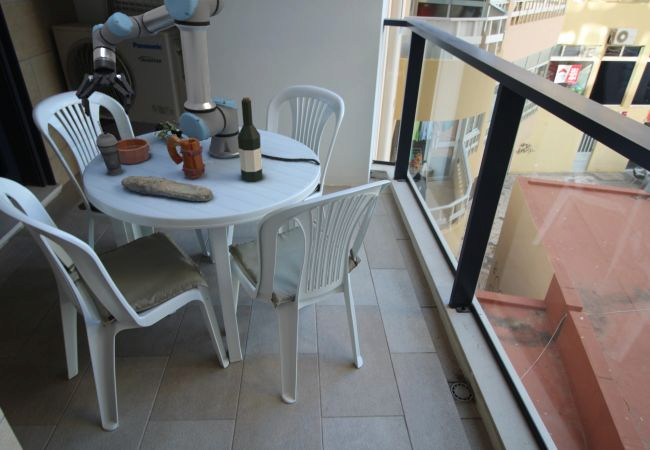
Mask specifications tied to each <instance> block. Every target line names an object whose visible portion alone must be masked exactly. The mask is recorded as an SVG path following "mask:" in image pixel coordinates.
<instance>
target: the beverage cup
mask: <svg viewBox="0 0 650 450" xmlns="http://www.w3.org/2000/svg"><path fill="white" fill-rule="evenodd" d="M96 122H97V124H98V127H99V130H100V132H101V133H100V134H98V136H97V137H96V140H95V141H96V142H95V143H96V144H95V145H96V147H97V149H98V151H99V153H100V155H101V158H102V160H103V162H104V165H105V168H106V170H107V173H108V175H110V176H115V175H116V176H117V175H120V174H121V173H122V172H123V169H122V164H121V163H120V157H119V151H118V142H117V141H118V139H117V138H116V136H115V135H114V134H112V133H109V132H104V131H103V128H102V126H101V122H100V121H99V120H97V121H96Z"/></svg>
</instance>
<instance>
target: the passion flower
mask: <svg viewBox="0 0 650 450" xmlns="http://www.w3.org/2000/svg"><path fill="white" fill-rule="evenodd" d="M160 126H162V131H161V130H160V132H159V133H158V132H157V131H155V132H154V133H153V136H154V137H156V136H157V138H158V139H160V138H161V140H162V142H164V138H165V137H166V140H167V141H168V139H169V137H171V136H173V135H176V136H177V137H178V138H179V139H181V140H182V139H184V137H183V135H184V136H186V135H185V134H184V133H183V131H182V129H181V127H180V124H179V121H176V120H171V122H170V121H165V123H162V122H160ZM169 132H170V134H169Z"/></svg>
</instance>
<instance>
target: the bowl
mask: <svg viewBox="0 0 650 450" xmlns="http://www.w3.org/2000/svg"><path fill="white" fill-rule="evenodd" d="M117 142H118V151H119V157H120V163H121V165H122V164H124V165H135V164H140V163H142V162H145V161H147V160H148V159H150V151H151V147H150V142H149V140H147V139H144V138H136V137H135V138H124V139H120V140H117Z"/></svg>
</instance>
